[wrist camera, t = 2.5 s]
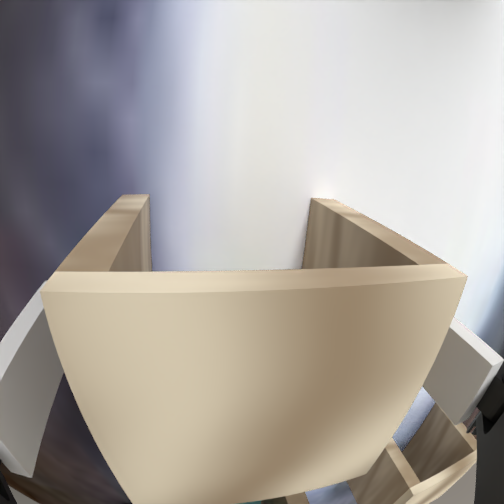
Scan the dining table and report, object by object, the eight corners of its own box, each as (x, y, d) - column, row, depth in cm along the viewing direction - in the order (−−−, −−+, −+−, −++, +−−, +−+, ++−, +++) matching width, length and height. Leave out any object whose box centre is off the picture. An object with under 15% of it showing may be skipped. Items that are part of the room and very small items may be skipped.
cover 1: (141, 368, 13) (134, 505, 7) (122, 194, 10) (39, 291, 4) (305, 359, 15) (366, 474, 8) (334, 199, 12) (467, 276, 5)
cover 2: (342, 473, 22) (370, 531, 16) (371, 425, 19) (413, 495, 13) (408, 449, 24) (439, 496, 17) (442, 399, 21) (485, 451, 15)
